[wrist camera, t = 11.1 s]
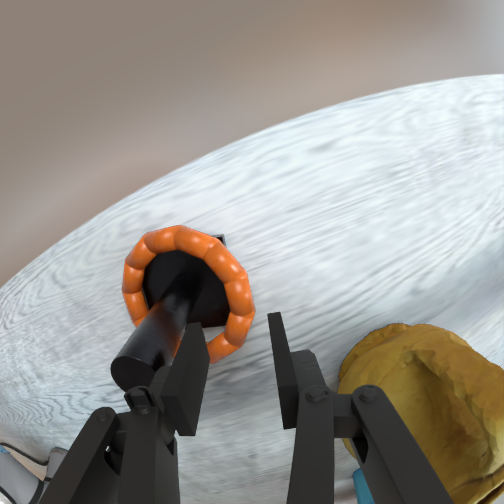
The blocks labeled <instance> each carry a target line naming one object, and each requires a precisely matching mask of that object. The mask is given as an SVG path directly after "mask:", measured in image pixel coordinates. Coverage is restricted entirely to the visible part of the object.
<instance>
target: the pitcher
mask: <svg viewBox="0 0 504 504" xmlns="http://www.w3.org/2000/svg"><path fill="white" fill-rule="evenodd" d="M343 361H344V362H343V364H342V365H341V371H340V372H339V376H338V377H339V382H340V384H339V388H338V392H337V393H338V394H352V393H353V391H354V390H355V389H356V388H358V387H360V386H362V385H367V384H370V385H376V386H378V387H380V388H381V389H382V390H383V391H384V392H385V394H386V395H387V397H388V398H389V400H390V401H391V403H392V405H393V406H394V408H395V409H396V411H397V412H398V414H399V415H400V417H401V418H402V420H403V421H404V423H405V424H406V426H407V428H408V429H409V431H410V432H411V434H412V435H413V437H414V438H415V440H416V442H417V443H418V445H419V446H420V448H421V449H422V451H423V453H424V454H425V456H426V457H427V459H428V461H429V462H430V464H431V466H432V467H433V469H434V470H435V472H436V474H437V475H438V477H439V479H440V480H441V482H442V484H443V485H444V487H445V489H446V490H447V492H448V494H449V495H450V497H451V499H452V501H453V502H454V504H492V503H493V502H494V501H495V500H496V499H497V498H498V497H500V496H501V495H502V494H503V493H504V370H503V369H502V368H501V367H500V366H498V365H496V364H494V363H491V362H489V361H488V360H487V359H486V358H484V357H483V356H482V355H480V354H479V353H478V352H476V351H474V350H473V349H472V348H471V346H470V345H469V344H468V343H467V342H466V341H465V340H463V339H462V338H460V337H459V336H458V335H456V334H455V333H453V332H451V331H447V330H445V329H443V328H439V327H436V326H433V325H428V324H417V325H414V326H410V325H407V324H403V323H401V324H398V323H397V324H395V323H394V324H389V325H388V326H386V327H383V328H381V329H378V330H374V332H373V331H372V332H370V333H369V335H368V336H366V337H365V338H364V339H363V340H361V341H360V342H359V343H358V344H356V346H355V347H354V348H353V349H352V350H351V352H350V353H349V354H348V356H346V358H345V360H343ZM342 439H343V442H344V444H345V447H346V448H347V450H348V451H349V452H350V454H351V455H352V456H353V457H354V458H355V459H356V460H357V458H356V456H355V454H354V451H353V449H352V446H351V444H350V442H349V439H348V438H342Z"/></svg>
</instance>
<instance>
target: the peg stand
mask: <svg viewBox="0 0 504 504" xmlns="http://www.w3.org/2000/svg"><path fill="white" fill-rule="evenodd" d="M212 237H215V238H217V239H219V240H220V241H221V242H222V244H223V245H224V246H225V247H226V244H225V239H224V234H222V235H216V236H212ZM142 286H143V290H144V293H145V297H146V301H147V304H148V307H149V312H148V313H147V315H146V316H145V317H144V319H143V320H142V321H141V323H140V324H139V326H138V327H137V328H136V330H135V331H134V332H133V334H132V335H131V336H130V338H129V339H128V341H127V342H126V343H125V345H124V346H123V348H122V349H121V350H120V352H119V353H118V355H117V356H116V357H115V359H114V360H113V362H112V364H111V375H112V377H113V379H114V381H115V383H116V384H117V385H118V386H119V387H120V388H121V389H122V390H123V391H125V392H127V391H128V390H129V389H131V388H133V387H136V386H146V387H149V386H150V384H151V382H152V380H153V377H154V375H155V373H156V371H157V370H158V369H159V368H161V367H162V366H170V364H171V362H172V359H173V357H174V354H175V352H176V350H177V347H178V345H179V342H180V340H181V338H182V335H183V333H184V330H186V328H187V326H188V324H189V323H198V322H201V326H202V328H209V327H218V326H226V323H227V320H228V317H229V314H230V307H229V303H228V299H227V295H226V291H225V287H224V283H223V282H222V281H221V280H220V279H219V278H218V276H217V275H216V274H215V273H214V272H213V271H212V269H211V268H210V267H209V266H208V265H207V264H206V262H205V261H204V260H202V259H200V258H197V257H195V256H193V255H190V254H188V253H185V252H183V251H180V250H174V251H168V252H163V253H158V254H157V255H156V256H155V257H154V258H153V259H152V260H151V261H150V263H149V264H148V265H147V266H146V267H145V270H144V276H143V283H142Z"/></svg>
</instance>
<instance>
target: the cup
mask: <svg viewBox="0 0 504 504" xmlns="http://www.w3.org/2000/svg"><path fill="white" fill-rule="evenodd" d="M353 481H354V486H355V491H356V497H357V503H358V504H375V503H374V500H373V498H372V495H371V493H370V490H369V488H368V485H367V483H366V480H365V478H364V475H363V473H362V471H361V468H360V469H358V470H357V471H355V472H354V474H353Z"/></svg>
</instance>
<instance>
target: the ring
mask: <svg viewBox="0 0 504 504" xmlns="http://www.w3.org/2000/svg"><path fill="white" fill-rule="evenodd" d="M174 250H180V251H183V252H185V253H188V254H190V255H193V256H195V257H197V258H200V259H202V260H204V261H205V262H206V264H207V265H208V266H209V267H210V268H211V269H212V271H213V272H214V273H215V274H216V275H217V276H218V278H219V279H220V280H221V281H222V282H223V283H224V287H225V291H226V295H227V299H228V303H229V307H230V314H229V317H228V320H227V323H226V327H225V330H224V332H223V333H221V334H220V335H218V336H217V337H215V338H214V339H213V340H211V341H210V342H206V345H207V349H208V352H209V356H210V363H216V362H218V361H220V360H221V359H223V358H225V357H226V356H228V355H230V354H231V353H233V352H234V351H236V350H237V349H239V348H241V347H242V346H243V344H244V342H245V340H246V337H247V334H248V332H249V329H250V326H251V324H252V321H253V318H254V315H255V306H254V302H253V297H252V293H251V289H250V284H249V280H248V275H247V272H246V270H245V269H244V268H243V267H242V266H241V265H240V263H239V262H238V261H237V260H236V259H235V258H234V256H233V255H232V254H231V253H230V252H229V251H228V249H227V248H226V247H225V246H224V245H223V244H222V242H221V241H220V240H219V239H217V238H215V237H212V236H210V235H207V234H204V233H202V232H199V231H196V230H194V229H191V228H188V227H186V226H183V225H176V226H172V227H168V228H164V229H160V230H155V231H151V232H148V233H146V234H145V235H144V236H143V237H142V238H141V240H140V241H139V242H138V243H137V244H136V246H135V247H134V248H133V249H132V251H131V252H130V253H129V255H128V256H127V257H126V259H125V265H124V274H123V283H122V293H123V296H124V299H125V303H126V305H127V308H128V311H129V314H130V317H131V320H132V322H133V324H134V325H135V326H136V327H138V326H139V324H140V323H141V321H142V320H143V319H144V317H145V316H146V315H147V313H148V312H149V311H148V308H147V305H146V302H145V299H144V296H143V292H142V283H143V276H144V270H145V267H146V266H147V265H148V264H149V263H150V261H151V260H152V259H153V258H154V257H155V256H156V255H157V254H158V253H163V252H168V251H174ZM181 341H182V340H180V342H179V345H180V343H181ZM179 345H178V347H177V350H178V348H179ZM177 350H176V352H175V354H174V357H173V358H175V355H176V353H177Z"/></svg>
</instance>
